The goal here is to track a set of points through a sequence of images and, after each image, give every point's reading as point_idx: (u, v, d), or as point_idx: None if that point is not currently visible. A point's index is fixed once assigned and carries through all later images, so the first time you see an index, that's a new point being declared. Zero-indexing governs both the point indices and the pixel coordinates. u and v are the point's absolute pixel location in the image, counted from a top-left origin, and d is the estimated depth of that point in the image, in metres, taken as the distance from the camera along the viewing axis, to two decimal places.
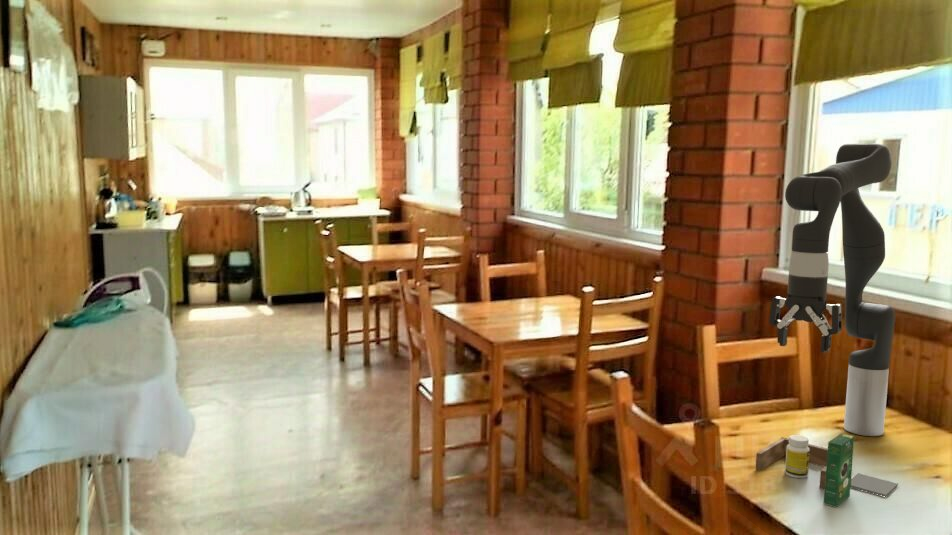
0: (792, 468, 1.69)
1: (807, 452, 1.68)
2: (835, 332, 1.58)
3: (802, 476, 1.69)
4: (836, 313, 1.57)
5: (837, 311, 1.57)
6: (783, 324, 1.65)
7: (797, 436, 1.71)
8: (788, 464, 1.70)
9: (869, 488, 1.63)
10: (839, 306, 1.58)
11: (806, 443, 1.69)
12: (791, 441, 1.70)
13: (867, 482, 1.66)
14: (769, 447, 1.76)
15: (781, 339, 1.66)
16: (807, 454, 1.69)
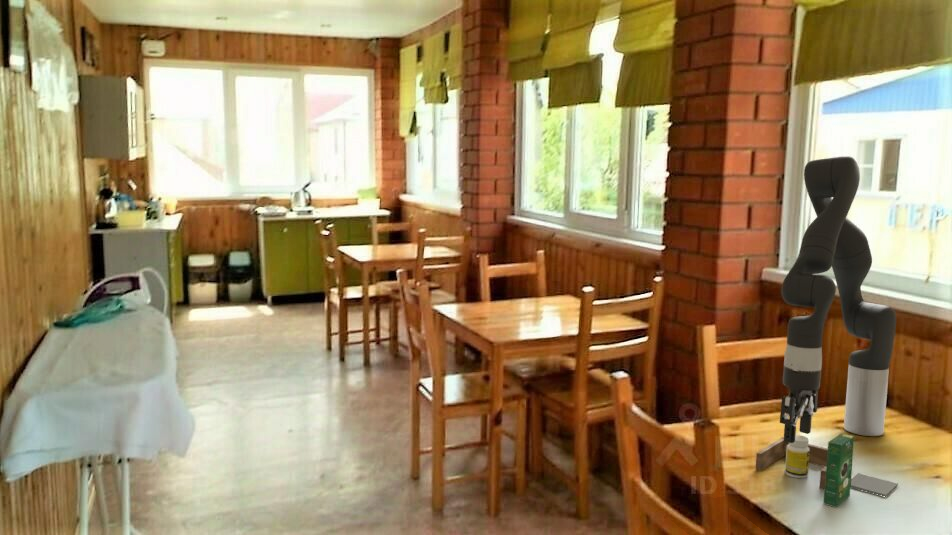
0: (792, 468, 1.69)
1: (807, 452, 1.68)
2: None
3: (802, 476, 1.69)
4: (817, 394, 1.73)
5: None
6: (796, 421, 1.66)
7: (797, 436, 1.71)
8: (788, 464, 1.70)
9: (869, 488, 1.63)
10: None
11: (806, 443, 1.69)
12: None
13: (867, 482, 1.66)
14: (769, 447, 1.76)
15: (794, 436, 1.66)
16: (807, 454, 1.69)
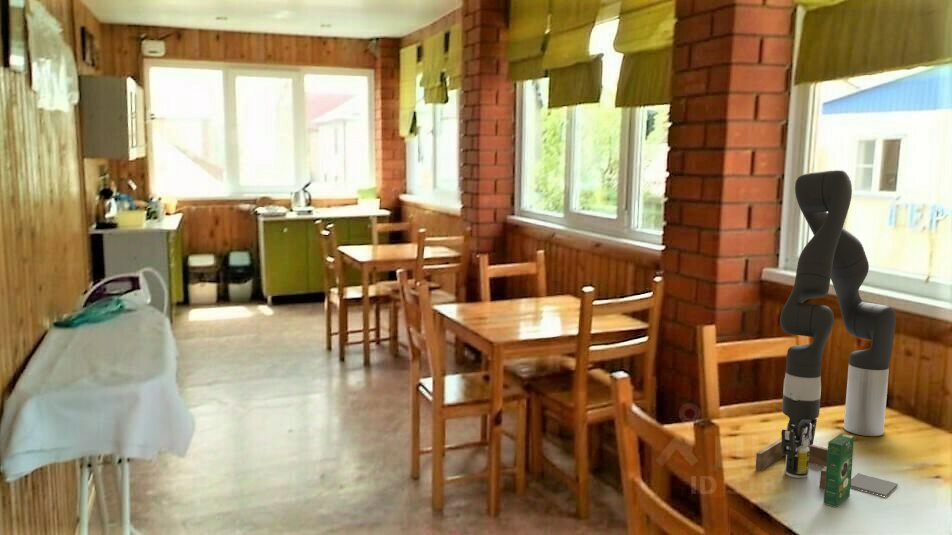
0: None
1: (807, 452, 1.68)
2: (812, 443, 1.73)
3: (802, 476, 1.69)
4: (815, 426, 1.74)
5: None
6: None
7: None
8: None
9: (869, 488, 1.63)
10: None
11: (806, 443, 1.69)
12: None
13: (867, 482, 1.66)
14: (769, 447, 1.76)
15: (797, 466, 1.68)
16: (807, 454, 1.69)
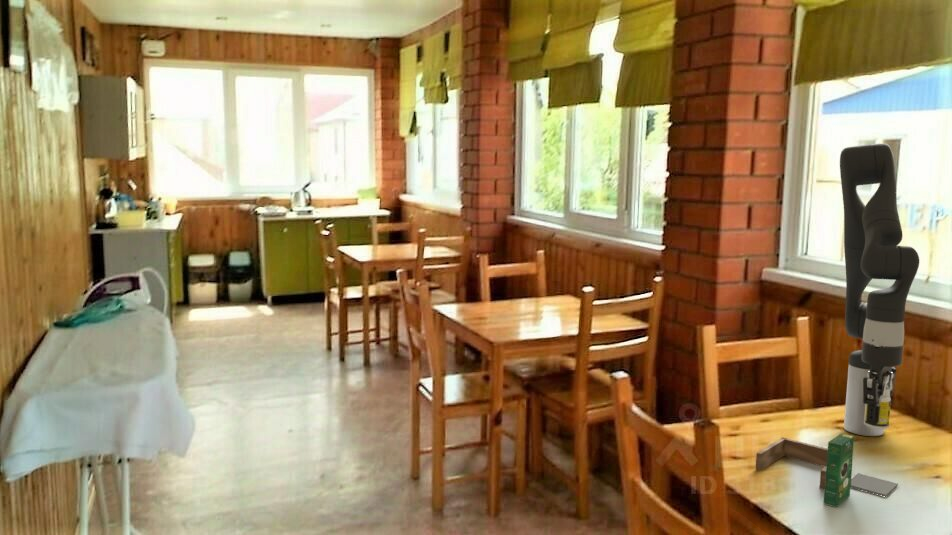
0: None
1: (888, 402, 1.61)
2: (892, 393, 1.66)
3: (883, 427, 1.61)
4: None
5: None
6: (880, 401, 1.60)
7: None
8: None
9: (869, 488, 1.63)
10: None
11: (888, 392, 1.61)
12: None
13: (867, 482, 1.66)
14: (769, 447, 1.76)
15: (878, 416, 1.61)
16: (889, 404, 1.61)
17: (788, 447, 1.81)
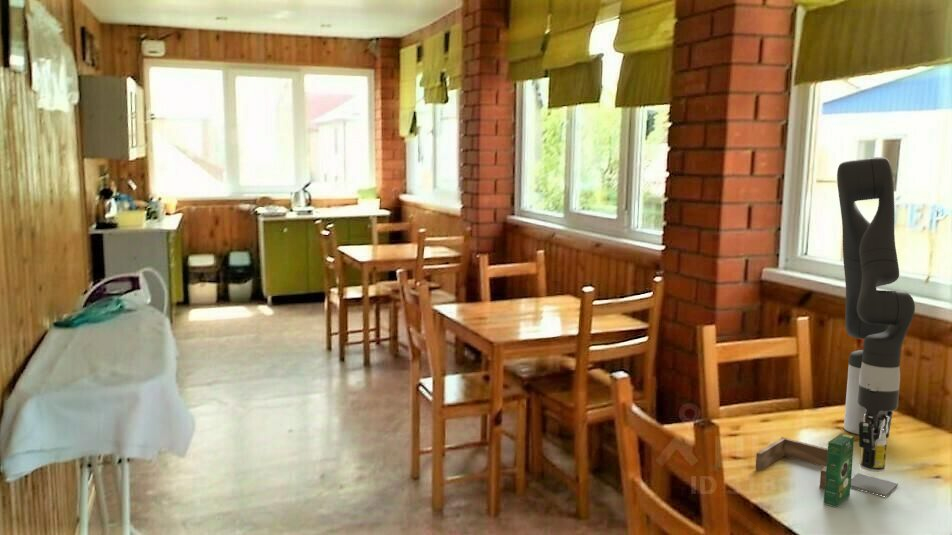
0: None
1: (884, 445, 1.62)
2: None
3: (879, 470, 1.62)
4: (891, 418, 1.67)
5: None
6: (876, 444, 1.61)
7: None
8: None
9: (869, 488, 1.63)
10: None
11: (883, 436, 1.62)
12: None
13: (867, 482, 1.66)
14: (769, 447, 1.76)
15: (874, 460, 1.62)
16: (884, 447, 1.62)
17: (788, 447, 1.81)
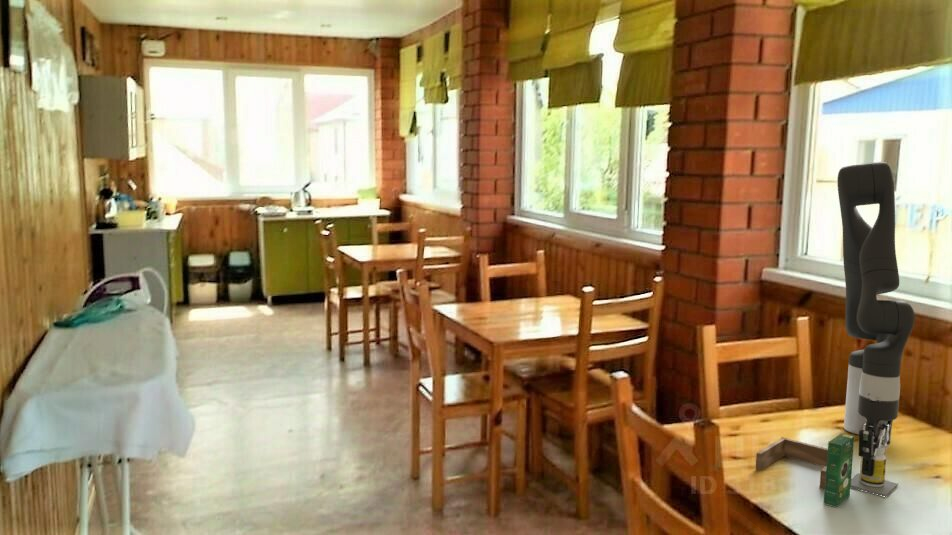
0: (868, 476, 1.63)
1: (884, 460, 1.63)
2: None
3: (879, 485, 1.63)
4: (891, 425, 1.67)
5: None
6: (875, 453, 1.61)
7: None
8: None
9: (869, 488, 1.63)
10: None
11: (883, 451, 1.63)
12: (867, 449, 1.64)
13: None
14: (769, 447, 1.76)
15: (873, 469, 1.61)
16: (884, 462, 1.63)
17: (788, 447, 1.81)
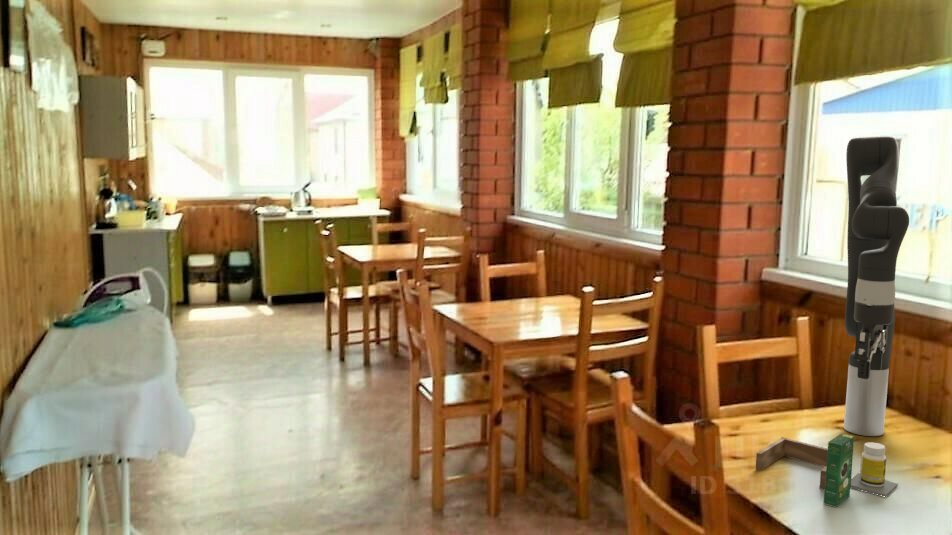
0: (869, 476, 1.63)
1: (884, 461, 1.63)
2: (886, 346, 1.70)
3: (879, 485, 1.63)
4: (887, 329, 1.70)
5: None
6: (871, 356, 1.62)
7: (872, 443, 1.65)
8: (863, 473, 1.64)
9: (869, 488, 1.63)
10: None
11: (883, 451, 1.63)
12: (867, 449, 1.64)
13: None
14: (769, 447, 1.76)
15: (869, 372, 1.63)
16: (884, 462, 1.63)
17: (788, 447, 1.81)
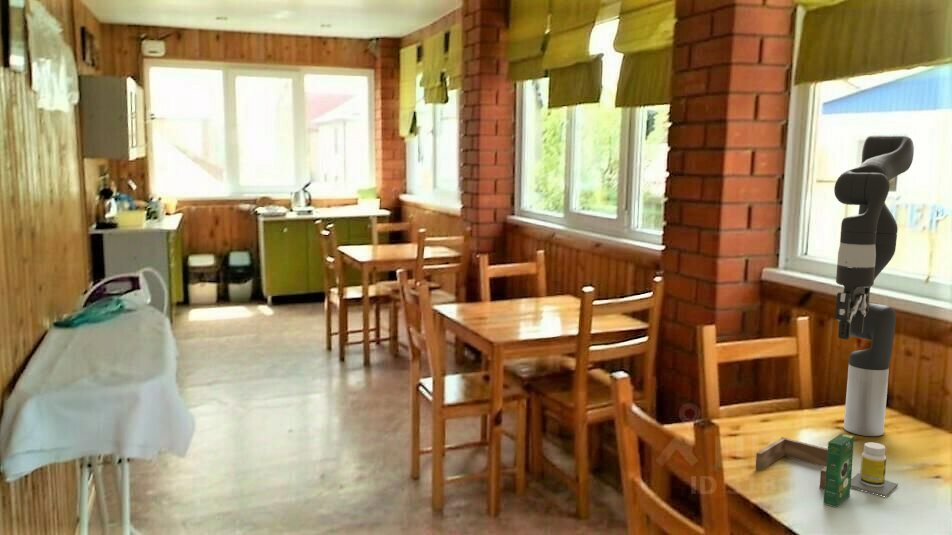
0: (869, 476, 1.63)
1: (884, 461, 1.63)
2: (868, 311, 1.76)
3: (879, 485, 1.63)
4: (869, 294, 1.76)
5: None
6: (851, 317, 1.69)
7: (872, 443, 1.65)
8: (863, 473, 1.64)
9: (869, 488, 1.63)
10: None
11: (883, 451, 1.63)
12: (867, 449, 1.64)
13: None
14: (769, 447, 1.76)
15: (849, 332, 1.69)
16: (884, 462, 1.63)
17: (788, 447, 1.81)
